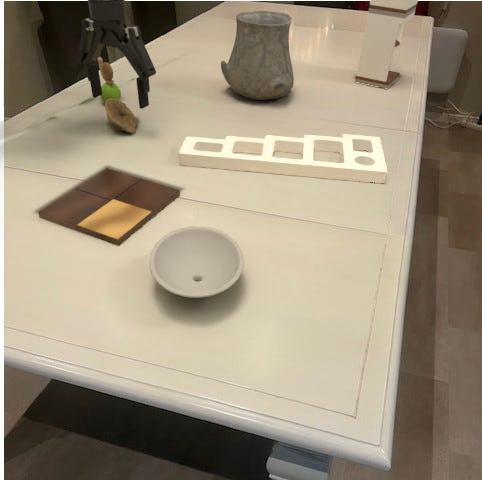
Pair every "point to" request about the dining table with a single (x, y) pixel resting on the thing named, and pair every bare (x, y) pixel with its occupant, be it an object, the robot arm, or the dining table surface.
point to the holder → (350, 168)
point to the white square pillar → (382, 40)
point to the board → (110, 205)
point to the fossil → (120, 115)
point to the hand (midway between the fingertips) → (120, 101)
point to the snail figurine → (108, 82)
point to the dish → (196, 261)
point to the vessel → (260, 56)
